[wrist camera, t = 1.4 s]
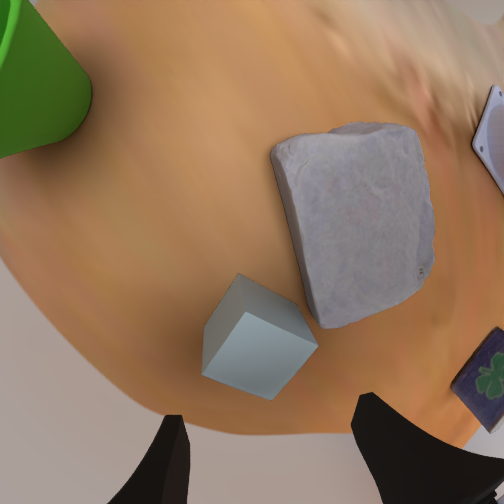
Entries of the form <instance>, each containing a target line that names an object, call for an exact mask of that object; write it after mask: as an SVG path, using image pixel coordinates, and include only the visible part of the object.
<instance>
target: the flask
mask: <svg viewBox="0 0 504 504" xmlns="http://www.w3.org/2000/svg"><path fill="white" fill-rule="evenodd" d="M451 388H452V391H453V392H454V393H455V394H456V395H457V396H458V397H459V398H460V400H461V401H462V402H463V403H464V404H465V405H466V406H467V408H469V409H470V411H471V412H472V413H473V414H474V415H475V417H476V418H477V419H478V420H479V421H480V423H481V424H482V425H483V426H484V427H485V428H486V430H487V431H488V432H489V433H490V434H491V433H493V432H495V431H496V430H498V429H499V428H500V426H501V425H502V424H503V423H504V331H503V330H502V329H500V328H498V327H495V328H494V329H492V331H491V332H490V333H489V334H488V335H487V337H486V338H485V339H484V340H483V342H482V343H481V344H480V345H479V346H478V348H477V349H476V351H475V352H474V353H473V356H472V357H471V358H470V359H469V360H468V361H467V362H466V364H465V365H464V367H463V368H462V369H461V371H460V372H459V373H458V374H457V375H456V377H455V379H454V381H453V382H452V383H451Z"/></svg>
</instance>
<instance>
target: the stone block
mask: <svg viewBox="0 0 504 504" xmlns="http://www.w3.org/2000/svg"><path fill="white" fill-rule="evenodd" d="M270 158H271V162H272V165H273V169H274V173H275V176H276V180H277V183H278V187H279V190H280V194H281V198H282V202H283V205H284V209H285V212H286V216H287V220H288V225H289V229H290V233H291V237H292V240H293V244H294V249H295V253H296V256H297V260H298V264H299V268H300V272H301V277H302V281H303V286H304V290H305V295H306V299H307V303H308V306H309V309H310V311H311V314H312V316H313V317H314V319H315V320H316V321H317V323H318V325H319V326H320V327H322V328H324V329H331V328H340V327H343V326H345V325H347V324H350V323H354V322H357V321H358V320H360V319H362V318H365V317H368V316H371V315H373V314H376V313H378V312H381V311H383V310H385V309H388V308H391V307H393V306H395V305H398V304H400V303H402V302H403V301H404V300H406V299H407V298H409V297H410V296H412V295H413V294H414V293H416V292H417V291H418V290H419V289H421V288H422V285H423V282H424V279H425V278H426V277H428V276H429V274H430V271H431V268H432V266H433V264H434V261H435V254H434V250H433V239H434V235H435V220H434V211H433V207H432V202H431V201H430V185H429V181H428V175H427V172H426V170H425V167H424V161H425V159H424V156H423V152H422V148H421V144H420V141H419V138H418V135H417V133H416V131H415V130H413V129H411V128H409V127H408V126H404V125H399V124H396V123H377V122H373V123H364V122H356V123H355V122H351V123H349V124H347V125H344V126H342V127H340V128H337V129H332V130H331V131H329V132H328V133H320V134H307V133H304V134H300V135H297V136H294V137H292V138H288V139H286V140H285V141H283V142H281V143H279V144H277V145H276V146H275V147H274V148H273V149H272V151H271V154H270Z"/></svg>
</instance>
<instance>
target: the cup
mask: <svg viewBox="0 0 504 504" xmlns="http://www.w3.org/2000/svg"><path fill="white" fill-rule="evenodd" d="M91 94H92V92H91V83H90V80H89V77H88V75H87V74H86V72H85V71H84V70H83V68H82V67H81V66H80V65H79V63H78V62H77V61H76V60H75V58H74V57H73V56H72V55H71V53H70V52H69V51H68V50H67V48H66V47H65V46H64V45H63V43H62V42H61V41H60V40H59V38H58V37H57V36H56V35H55V33H54V32H53V31H52V30H51V28H50V27H49V26H48V24H47V23H46V22H45V21H44V19H43V18H42V17H41V16H40V14H39V13H38V12H37V10H36V9H35V8H34V7H33V5H32V4H31V3H30V2H29V0H0V158H3V157H6V156H9V155H12V154H15V153H19V152H22V151H25V150H29V149H32V148H36V147H39V146H43V145H47V144H51V143H55V142H59V141H61V140H63V139H65V138H67V137H68V136H69V135H70V134H72V133H73V132H74V131H75V130H76V129H77V128H78V127H79V125H80V124H81V123H82V122H83V120H84V118H85V116H86V114H87V112H88V109H89V106H90V102H91Z"/></svg>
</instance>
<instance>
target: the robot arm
mask: <svg viewBox="0 0 504 504" xmlns="http://www.w3.org/2000/svg"><path fill="white" fill-rule="evenodd" d="M472 146H473V148H474V150H475V152H476V153H477V154H478V156H479V157H480V159H481V160H482V161H483V163H484V164H485V166H486V167H487V169H488V170H489V172H490V173H491V175H492V176H493V178H494V180H495V181H496V183H497V184H498V186H499V188H500V189H501V191H502V193H503V194H504V94H503V92H502V91H501V89H500V88H499V87H498V85H493V87H492V90H491V93H490V96H489V99H488V102H487V105H486V108H485V111H484V114H483V116H482V119H481V122H480V124H479V127H478V129H477V132H476V135H475V137H474V139H473V143H472ZM351 428H352V431H353V434H354V437H355V440H356V443H357V445H358V448H359V450H360V452H361V454H362V456H363V458H364V460H365V462H366V464H367V466H368V468H369V470H370V472H371V474H372V476H373V478H374V480H375V482H376V485H377V487H378V490H379V493H380V496H381V499H382V502H383V504H504V495H503V496H501V497H500V498H499V499H498V500H497V501H496V500H495V498H494V497H495V496H497V493H496V492H495V489H496V488H497V487H498V486H499V485H500V484H501V483H502V482H503V481H504V459H502V458H495V457H488V456H483V455H479V454H475V453H471V452H468V451H465V450H462V449H460V448H457V447H454V446H452V445H450V444H447V443H445V442H443V441H441V440H439V439H437V438H435V437H433V436H432V435H430V434H428V433H427V432H425V431H423V430H422V429H420V428H419V427H417V426H416V425H414V424H413V423H411V422H410V421H409V420H407V419H406V418H404V417H403V416H402V415H400V414H399V413H398V412H397V411H395V410H394V409H393V408H392V407H390V406H389V405H388V404H387V403H385V402H384V401H383V400H382V399H380V398H379V397H378V396H377V395H376V394H374V393H373V392H370V393H366V394H362V395H360V396H359V399H358V403H357V406H356V409H355V413H354V416H353V419H352V422H351ZM189 473H190V442H189V439H188V435H187V432H186V429H185V425H184V421H183V418H182V415H166V416H165V417H164V419H163V421H162V424H161V426H160V428H159V430H158V432H157V434H156V436H155V438H154V440H153V442H152V444H151V446H150V447H149V449H148V451H147V453H146V454H145V456H144V458H143V459H142V461H141V462H140V464H139V465H138V467H137V468H136V470H135V472H134V473H133V474H132V476H131V477H130V478H129V480H128V481H127V482H126V483H125V485H124V486H123V487H122V488H121V489H120V491H119V492H118V493H117V494H116V495H115V496H114V497H113V498H112V499H111V500H110V502H108V503H107V504H187V495H188V484H189Z"/></svg>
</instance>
